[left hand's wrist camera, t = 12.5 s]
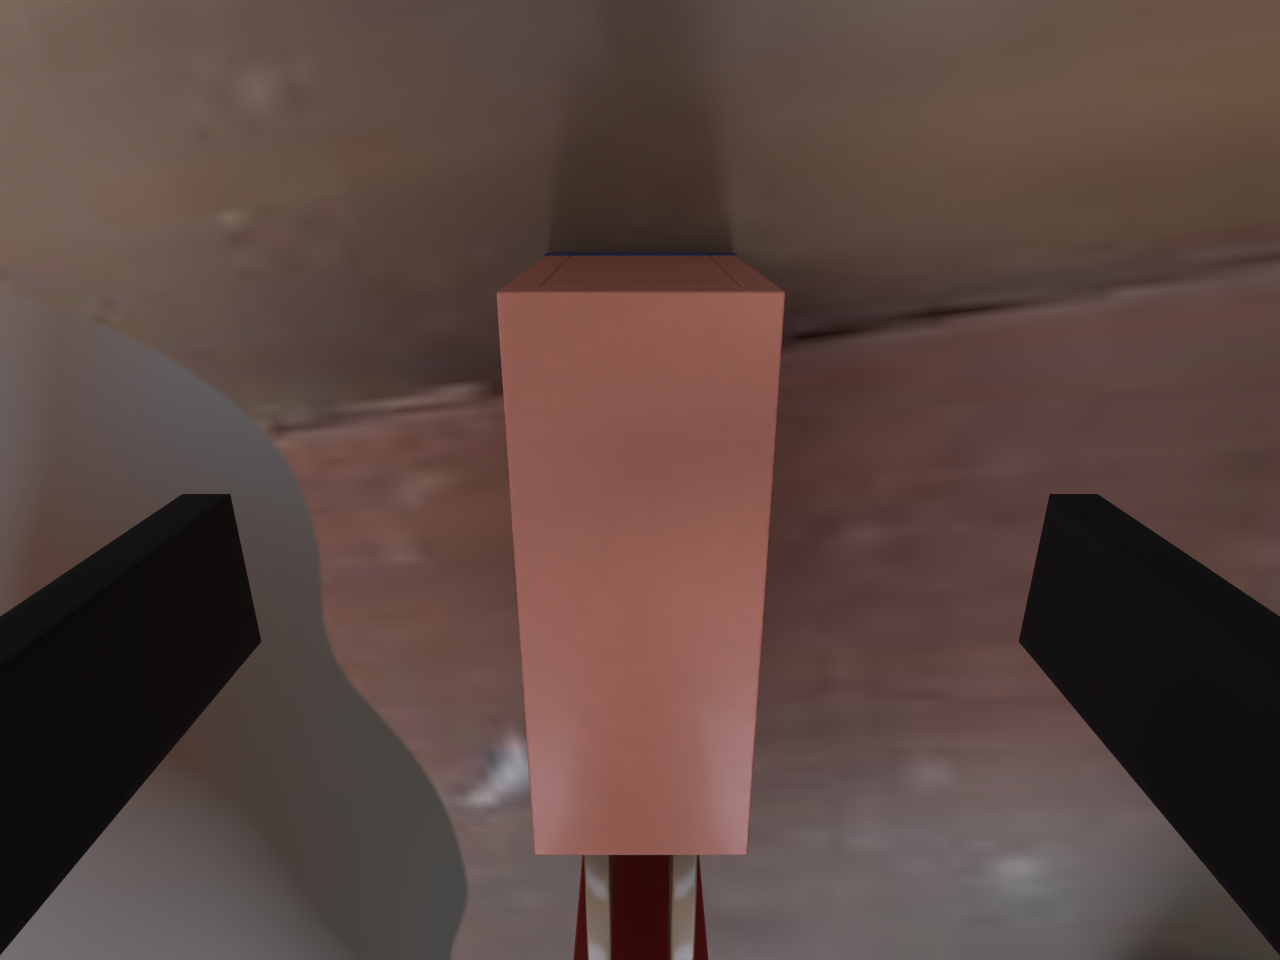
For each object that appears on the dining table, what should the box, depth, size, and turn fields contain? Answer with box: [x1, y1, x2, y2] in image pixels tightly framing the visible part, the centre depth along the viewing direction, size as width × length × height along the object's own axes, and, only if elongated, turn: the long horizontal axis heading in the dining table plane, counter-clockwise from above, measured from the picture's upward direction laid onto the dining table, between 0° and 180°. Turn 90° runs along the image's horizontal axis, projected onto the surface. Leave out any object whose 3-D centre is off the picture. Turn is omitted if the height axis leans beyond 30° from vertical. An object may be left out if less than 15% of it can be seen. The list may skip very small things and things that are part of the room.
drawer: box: [574, 855, 708, 960], centre depth 29 cm, size 20×5×8 cm, turn 0°
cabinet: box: [497, 253, 785, 855], centre depth 24 cm, size 16×6×10 cm, turn 0°
